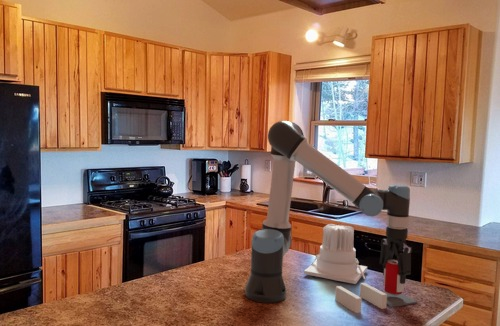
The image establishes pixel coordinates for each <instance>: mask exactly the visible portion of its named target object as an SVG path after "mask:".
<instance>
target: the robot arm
mask: <svg viewBox="0 0 500 326" xmlns="http://www.w3.org/2000/svg"><path fill="white" fill-rule="evenodd" d="M267 140H268V144H269V145H270V156H271V157H272V158H273V163H272V164H273V165H272V172H271V180H270V188H269V189H270V190H269V199H268V207H267V215H266V219H264V220H263V221H262V224H261V229H259V230H257V231H255V232H254V233H253V234H252V237H251V242H250V243H251V253H250V254H251V256H250V257H251V258H250V260H251V261H250V274H249V278H248V281H247V283H246V285H245V288H244V289H245V290H244V291H245V292H244V295H245V297H246V298H247V299H249V300H251V301H254V302H256V303H257V302H258V303H266V304H270V303H278V302H279V303H280V302H282V301H284V300H285V299H286V297H287V288H286V285H285V281H284V278H283V266H284V265H283V264H284V261H283V260H284V256H285V255H286V253H287V252H288V251H289V250H290V247H291V246H292V235H291V234H292V224H291V223H290V221H289V219H290V209H291V201H292V193H293V185H294V177H295V168H296V162H297V163H298V164H299V165H301V166H303V167H304V168H305V169H306V170H307V171H309V172H310V173H312V174H314V176H316V177H317V178H318V179H320V180H321V181H322V182H323V183H325V184H326V185H328V186H329V187H330V188H331V189H333V190H334V191H336V192H337V193H338V194H340V195H342V197H343V198H345V199H346V200H347V201H349V202H350V203H352V204H353V205H354V207H355V208H357V209H359V210H360V211H361V213H362V214H364V215H365V216H368V217H377V216H378V215H379V214H381V213H382V211H386V213H387V214H386V223H385V224H386V230H385V236H386V237H387V238H383V239H380V247H381V248H380V253H379V254H380V255H379V265H381V266H382V268H383V269H382V270H383V271H382V273H383V274H382V275H383V284H382V285H383V286H384V287H385V272H386V263H387V262H388V260H393V258H394V255H395V256H396V260H397V262H398V268H399V274H398V275H397V291H396V292H402V293H403V292H404V291H405V284H406V279H407V275H412V274H411V273H412V251H413V248H412V247H411V246H408V245H407V242H406V240H407V239H408V236H409V235H408V233H409V229H408V227H409V218H410V217H409V215H410V204H411V203H410V201H411V197H410V196H411V190H410V187H409V186H407V185H404V184H403V185H402V184H389V186H388V188H387V189H378V188H377V189H375V188H369V187H368V186H366V185H365V184H364V183H362V182H361V181H360V180H358V179H357V178H356V177H354V176H353V175H351V174H350V173H349V172H347V171H346V170H345V169H344V168H342V167H341V166H339V165H338V164H336V162H334V161H332V160H331V159H330V158H329V157H327V156H326V155H324V154H323V153H322V152H320V151H319V150H318V149H316V148H315V147H314V146H312V145H311V144H310V143H308V139H307V138H306V137H305V136H304V132H303V129H302V128H301V127H300V126H299V125H298V124H297V123H296V122H291V121H287V120H279V121H277V122H275V123H273V124H272V125H271V126H270V128H269V129H268V133H267Z"/></svg>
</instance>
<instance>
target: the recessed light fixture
mask: <svg viewBox="0 0 500 326" xmlns="http://www.w3.org/2000/svg"><path fill="white" fill-rule="evenodd" d="M354 232H355V228H354V227H352V226H351V225H343V224H338V225H337V224H333V223H327V224H326V225H325V226H323V229H322V243H321V245H320V246H319V254H316V255H315V258H314V260H313V261H312V262H311V264H310V266H309V267H307V268H306V269H305V270H303V274H304V275H308V276H311V277H313V276H314V277H317V278H324V279H328V280H333V281H338V282H343V283H347V284H353V285H357V283H358V282H359V280H360V279H361V278H363V280H366V279H367V278H366V276H365V273H366V272H367V270H368V266H366V265H362V264H361V265H359V263H360V262H359V260H358V258H356V251H357V250H356V248H355V247H354V235H355V233H354Z"/></svg>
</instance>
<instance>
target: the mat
mask: <svg viewBox="0 0 500 326" xmlns="http://www.w3.org/2000/svg"><path fill="white" fill-rule="evenodd" d="M381 291H382V292H383V293H385V294H387V302H386V306H388V307H390V308H396V307H402V306H408V305H415V304H418V301H417V300H415V299H413V298H412V297H409V296H407V295H405V294H403V293H402V294H400V295H397V296H395V295H390V294H388V293H387V292H385V290H384V291H383V290H381Z"/></svg>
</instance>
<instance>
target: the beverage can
mask: <svg viewBox="0 0 500 326" xmlns="http://www.w3.org/2000/svg"><path fill="white" fill-rule="evenodd" d="M398 274H399V268H398V262H397V259H392V260H388V262H387V263H386V272H385V286H384V291H385V292H387V293H388V294H390V295H395V296H397V295H400V294H403V292H396V291H397V275H398Z"/></svg>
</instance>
